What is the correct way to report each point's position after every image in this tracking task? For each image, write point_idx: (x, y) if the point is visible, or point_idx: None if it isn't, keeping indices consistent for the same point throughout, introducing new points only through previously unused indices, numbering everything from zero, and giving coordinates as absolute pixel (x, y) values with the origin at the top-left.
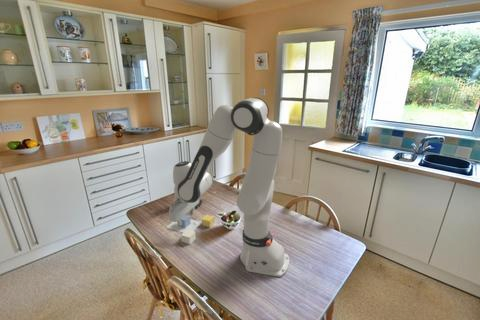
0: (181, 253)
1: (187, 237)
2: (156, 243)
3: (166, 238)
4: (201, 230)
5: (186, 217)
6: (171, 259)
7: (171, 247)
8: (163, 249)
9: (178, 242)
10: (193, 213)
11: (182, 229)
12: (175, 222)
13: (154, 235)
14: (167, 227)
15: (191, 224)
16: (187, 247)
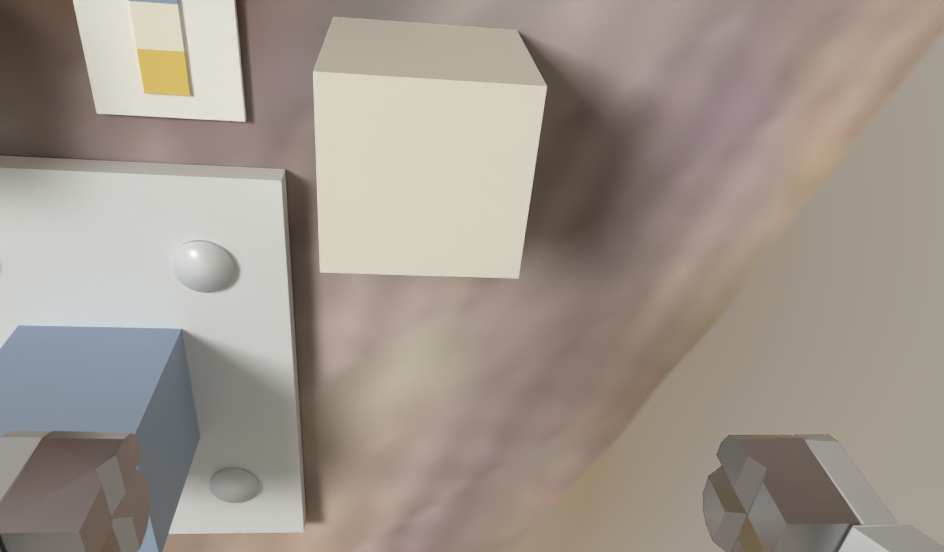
0: (724, 65)
1: (536, 131)
2: (594, 450)
3: (476, 414)
4: (35, 56)
5: None
6: (861, 133)
7: (624, 269)
8: (680, 331)
9: None
10: (10, 456)
11: (232, 349)
12: None
13: (473, 535)
14: (298, 517)
15: (33, 301)
16: (569, 50)
